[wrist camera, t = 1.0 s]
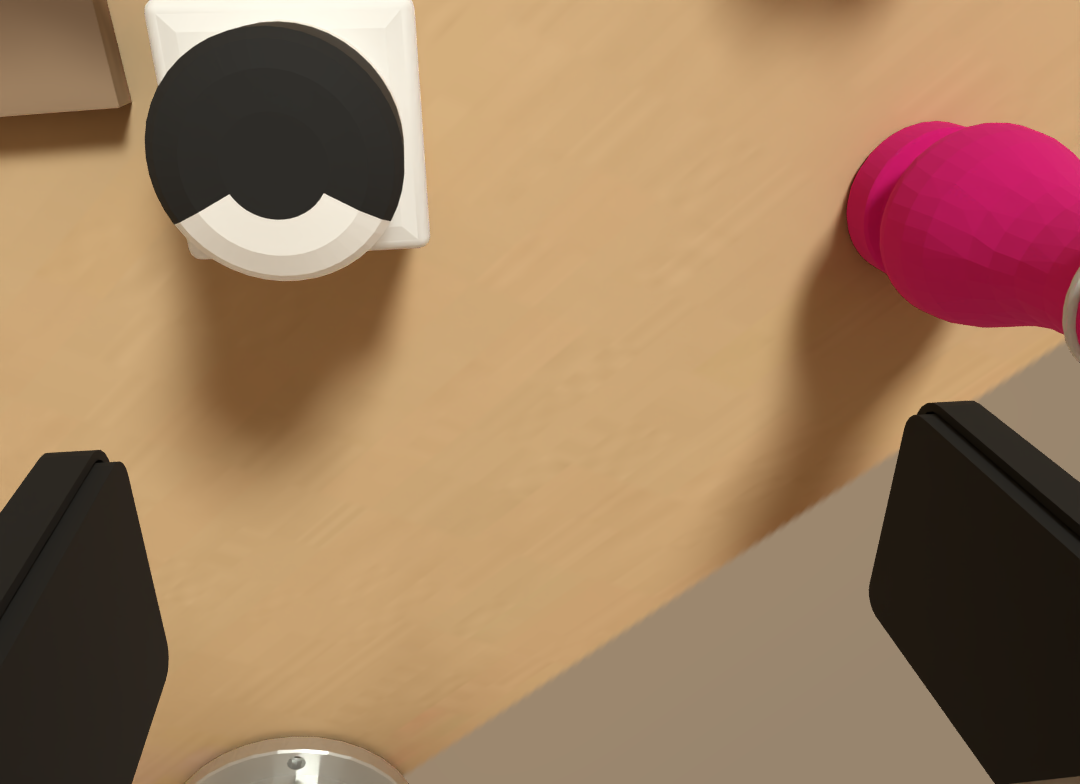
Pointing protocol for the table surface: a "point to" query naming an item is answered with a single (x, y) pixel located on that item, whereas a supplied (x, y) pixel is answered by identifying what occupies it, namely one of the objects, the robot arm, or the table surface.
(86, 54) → the walnut board
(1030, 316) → the pepper mill
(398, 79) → the medicine bottle
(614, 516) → the table surface
